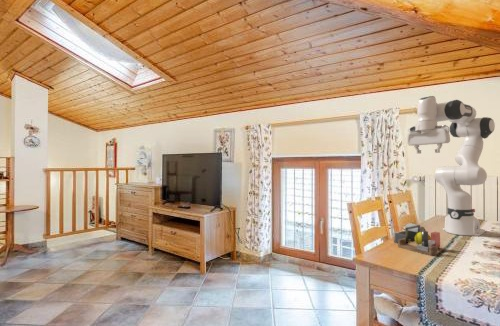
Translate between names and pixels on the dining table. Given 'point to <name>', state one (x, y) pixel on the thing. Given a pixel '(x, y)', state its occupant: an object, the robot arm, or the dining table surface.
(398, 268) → the dining table surface
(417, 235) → the tennis ball
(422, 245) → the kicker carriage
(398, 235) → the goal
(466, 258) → the dining table surface
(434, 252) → the track
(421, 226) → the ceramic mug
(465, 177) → the robot arm
